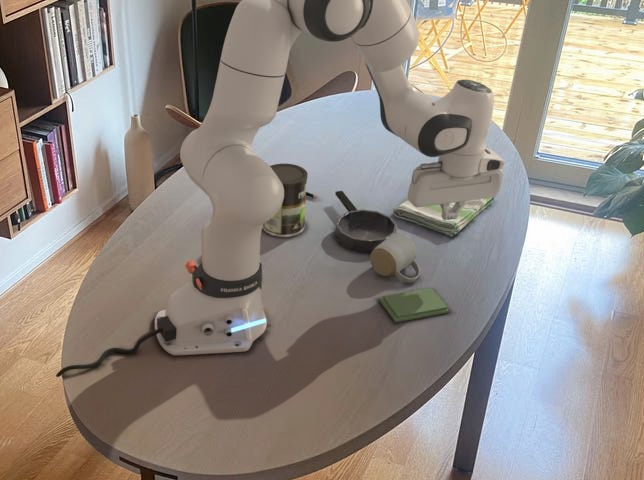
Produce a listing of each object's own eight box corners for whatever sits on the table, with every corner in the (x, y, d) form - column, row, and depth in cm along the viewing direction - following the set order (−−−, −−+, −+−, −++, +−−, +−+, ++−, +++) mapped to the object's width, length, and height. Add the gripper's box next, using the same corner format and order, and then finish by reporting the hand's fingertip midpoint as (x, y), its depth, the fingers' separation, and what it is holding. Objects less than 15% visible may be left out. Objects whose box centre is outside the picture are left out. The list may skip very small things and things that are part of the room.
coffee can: (307, 217, 199) (310, 165, 191) (301, 239, 191) (303, 186, 183) (266, 213, 201) (267, 160, 192) (257, 234, 193) (258, 181, 184)
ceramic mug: (365, 270, 181) (369, 241, 176) (387, 255, 186) (391, 227, 181) (406, 290, 176) (411, 261, 171) (426, 274, 181) (432, 245, 176)
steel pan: (349, 257, 186) (350, 244, 184) (312, 205, 204) (312, 193, 202) (404, 248, 189) (406, 235, 187) (363, 198, 207) (364, 186, 205)
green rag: (395, 322, 166) (395, 317, 166) (379, 300, 173) (379, 295, 172) (448, 312, 169) (449, 307, 169) (430, 291, 175) (431, 286, 175)
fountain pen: (320, 199, 207) (320, 194, 206) (317, 201, 206) (318, 195, 205) (272, 183, 213) (272, 178, 212) (270, 185, 212) (270, 180, 211)
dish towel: (390, 216, 200) (391, 203, 198) (433, 181, 215) (435, 168, 213) (454, 239, 192) (456, 226, 190) (495, 201, 207) (497, 188, 205)
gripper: (421, 171, 163) (411, 231, 171) (511, 160, 168) (497, 219, 176) (407, 157, 168) (398, 216, 176) (495, 147, 173) (483, 205, 181)
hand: (449, 218), depth 176 cm, fingers closed
